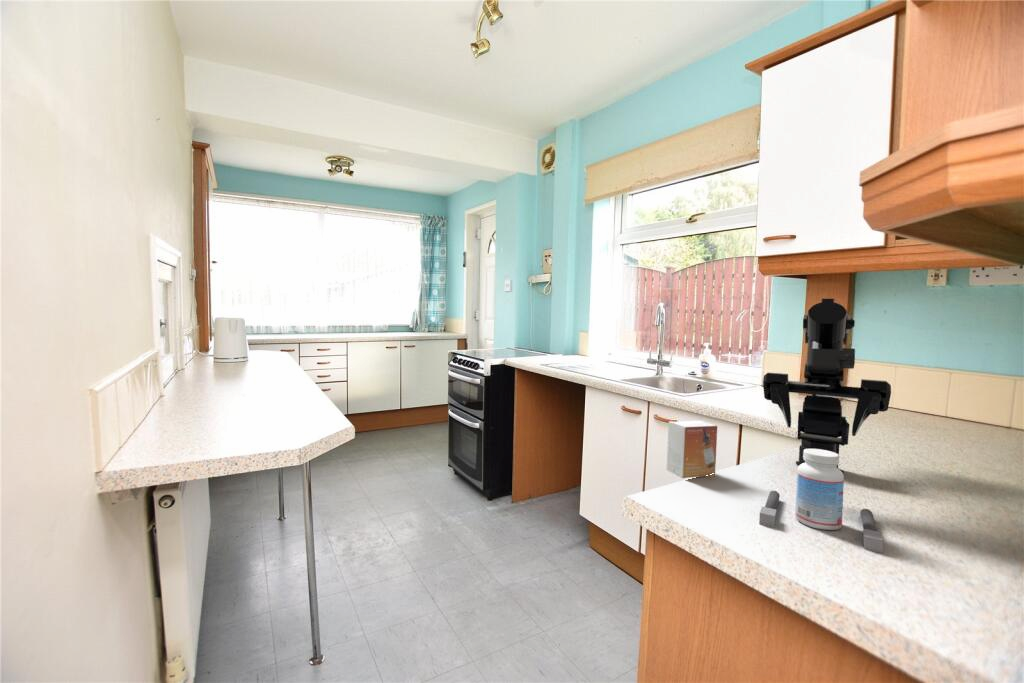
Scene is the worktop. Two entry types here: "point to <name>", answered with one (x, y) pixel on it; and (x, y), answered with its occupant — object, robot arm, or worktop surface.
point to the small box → (691, 448)
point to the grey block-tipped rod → (769, 510)
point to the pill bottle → (820, 490)
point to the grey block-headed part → (871, 532)
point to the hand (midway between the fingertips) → (820, 430)
